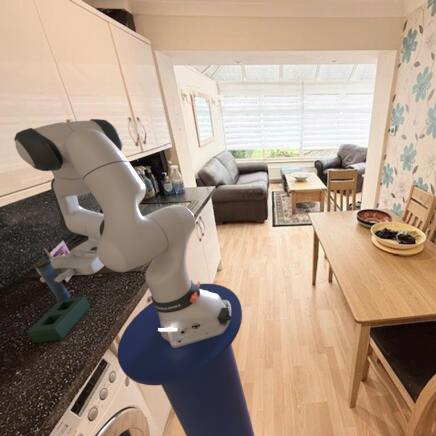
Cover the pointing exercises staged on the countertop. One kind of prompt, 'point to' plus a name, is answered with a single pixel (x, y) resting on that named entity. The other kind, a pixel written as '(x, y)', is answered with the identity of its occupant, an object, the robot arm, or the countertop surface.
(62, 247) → the greeting card
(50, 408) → the countertop surface
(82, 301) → the holder
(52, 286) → the handle
